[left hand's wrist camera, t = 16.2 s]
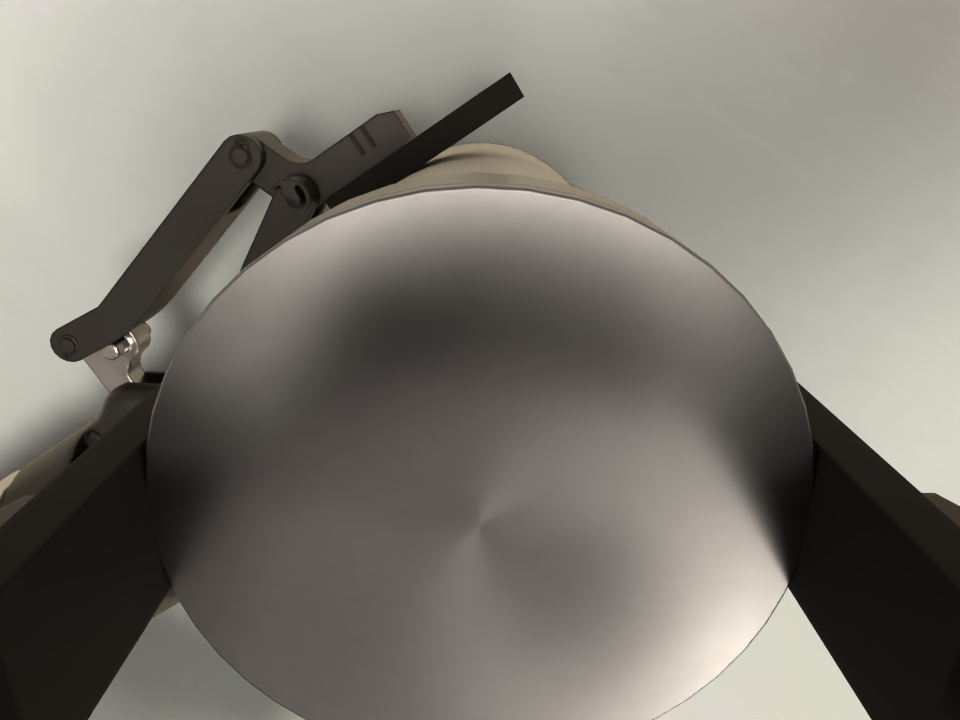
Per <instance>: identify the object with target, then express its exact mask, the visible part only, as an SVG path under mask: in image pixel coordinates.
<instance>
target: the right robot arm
mask: <svg viewBox="0 0 960 720" xmlns="http://www.w3.org/2000/svg"><path fill="white" fill-rule="evenodd" d="M523 97H524V96H523V94H522V92H521V90H520V89H519V87H518V85H517V83H516V82H515V80H514V78H513V77H512V75H511V73H508V74H507V75H505V76H504V77H503V78H501V79H500V80H498V81H497V82H495V83H494V84H492V85H491V86H490V87H488V88H487V89H485V90H484V91H482V92H481V93H479V94H478V95H476V96H475V97H474V98H472V99H471V100H469V101H468V102H466V103H465V104H463V105H462V106H461V107H459V108H458V109H456V110H455V111H453V112H452V113H450V114H449V115H448V116H446V117H445V118H443V119H442V120H440V121H439V122H437V123H436V124H434V125H433V126H432V127H430V128H429V129H427V130H426V131H424V132H423V133H421V134H420V135H419V136H416V135H415V133H414V132H413V130H412V129H411V127H410V126H409V124H408V122H407V121H406V119H405V118H404V116H403V115H402V113H401V111H400V110H396V111H391V112H386V113H381V114H376V115H375V116H374V117H372V118H371V119H369V120H368V121H367V122H365V123H364V124H362V125H361V126H360V127H358V128H357V129H355V130H354V131H352V132H351V133H350V134H348V135H347V136H345V137H344V138H342V139H341V140H340V141H338V142H337V143H335V144H334V145H333V146H331V147H330V148H328V149H327V150H326V151H324V152H323V153H321V154H320V155H318V156H317V157H316V158H314V159H305V158H302V157H300V156H298V155H296V154H295V153H293V152H292V151H290V150H289V149H288V148H286V147H285V146H284V145H282V143H281V141H280V140H279V139H278V138H277V136H275V135H274V134H272V133H271V132H267V131H257V132H250V133H243V134H237V135H233V136H230V137H228V138H227V139H226V140H225V141H224V142H223V143H222V145H221V146H220V147H219V148H218V150H217V151H216V152H215V154H214V155H213V156H212V158H211V159H210V160H209V162H208V163H207V164H206V166H205V167H204V168H203V170H202V171H201V172H200V173H199V175H198V176H197V177H196V179H195V180H194V181H193V183H192V184H191V185H190V187H189V188H188V189H187V191H186V192H185V193H184V194H183V196H182V197H181V198H180V200H179V201H178V202H177V204H176V205H175V206H174V208H173V209H172V210H171V212H170V213H169V214H168V216H167V217H166V218H165V219H164V221H163V222H162V223H161V225H160V226H159V227H158V229H157V230H156V231H155V233H154V234H153V235H152V237H151V238H150V239H149V241H148V242H147V243H146V244H145V246H144V247H143V248H142V250H141V251H140V252H139V254H138V255H137V256H136V258H135V259H134V260H133V262H132V263H131V264H130V266H129V267H128V268H127V269H126V271H125V272H124V273H123V275H122V276H121V277H120V279H119V280H118V281H117V283H116V284H115V285H114V287H113V288H112V289H111V291H110V292H109V293H108V294H107V296H106V297H105V298H104V300H103V301H102V302H101V304H100V305H99V306H98V307H97V308H95V309H93V310H91V311H89V312H87V313H86V314H84V315H82V316H80V317H78V318H76V319H75V320H73V321H71V322H69V323H67V324H65V325H64V326H62V327H60V328H58V329H57V330H55V331H54V332H53V333H52V335H51V338H50V343H51V347H52V349H53V351H54V353H55V354H56V355H57V356H59V357H60V358H61V359H63V360H66V361H70V362H76V361H80V360H82V359H84V360H85V362H86V363H87V364H88V366H89V367H90V368H91V370H92V371H93V372H94V373H95V375H96V376H97V377H98V379H99V380H100V381H101V383H102V384H103V385H104V386H105V388H106V389H107V390H108V392H109V393H110V394H109V395H108V396H107V398H106V400H105V403H104V406H103V409H102V411H101V413H100V414H99V416H97V417H96V418H94V419H93V420H91V421H90V422H88V423H87V424H85V425H84V426H82V427H81V428H79V429H78V430H76V431H75V432H73V433H72V434H70V435H69V436H67V437H66V438H64V439H63V440H61V441H60V442H58V443H57V444H55V445H54V446H52V447H51V448H49V449H48V450H46V451H45V452H43V453H42V454H40V455H39V456H37V457H36V458H34V459H33V460H31V461H30V462H28V463H27V464H26V465H25V466H24V467H23V468H22V469H21V470H18V471H15V472H13V473H12V474H10V475H9V476H7V477H6V478H4V479H3V480H1V481H0V509H1V508H2V507H4V506H6V505H8V504H10V503H12V502H14V501H16V500H17V499H19V498H21V497H23V496H25V495H36V494H37V493H38V492H40V491H41V490H42V489H43V488H44V487H45V486H46V485H47V484H49V483H50V482H51V481H52V480H53V479H54V478H55V477H56V476H58V475H59V474H60V473H61V472H62V471H63V470H64V469H65V468H66V467H68V466H69V465H70V464H71V463H72V462H73V461H74V460H75V459H77V458H78V457H79V456H80V455H81V454H82V453H83V452H84V451H85V450H87V449H88V448H89V447H90V446H91V445H92V444H93V443H94V442H96V441H97V440H98V439H99V438H100V437H101V436H102V435H103V434H104V433H106V432H107V431H108V430H109V429H110V428H111V427H112V426H113V425H115V424H116V423H117V422H118V421H119V420H120V419H121V418H122V417H123V416H125V415H126V414H127V413H128V412H129V411H130V410H131V409H132V408H134V407H135V406H136V405H137V404H138V403H139V402H140V401H141V400H143V399H144V398H145V397H146V396H147V395H148V394H149V393H150V392H151V391H153V390H154V389H155V388H156V387H157V386H158V385H159V384H160V383H162V381H163V378H164V376H165V373H166V372H160V371H144V370H143V368H142V366H141V363H140V357H141V354H142V352H143V351H144V350H145V349H146V348H147V347H148V346H149V344H150V341H151V336H150V333H151V328H150V326H149V325H148V324H147V323H145V322H146V321H147V320H149V319H150V318H152V317H153V316H154V315H156V314H157V313H158V312H159V311H160V310H162V309H163V308H164V307H165V306H166V305H167V304H168V302H169V301H170V300H171V299H172V298H173V297H174V295H175V294H176V293H177V292H178V290H179V289H180V288H181V287H182V285H183V284H184V283H185V282H186V280H187V279H188V278H189V277H190V275H191V274H192V273H193V272H194V270H195V269H196V268H197V267H198V265H199V264H200V263H201V261H202V260H203V259H204V258H205V256H206V255H207V254H208V253H209V251H210V250H211V249H212V248H213V246H214V245H215V244H216V243H217V241H218V240H219V239H220V238H221V236H222V235H223V234H224V233H225V231H226V230H227V229H228V228H229V226H230V225H231V224H232V223H233V221H234V220H235V219H236V218H237V216H238V215H239V214H240V213H241V211H242V210H243V209H244V208H245V206H246V205H247V204H248V203H249V201H250V200H251V199H252V198H253V196H254V195H255V194H256V193H257V191H258V190H259V189H260V188H261V189H262V190H263V191H265V192H266V193H268V194H269V195H270V196H272V197H273V198H272V200H271V202H270V205H269V207H268V209H267V211H266V214H265V216H264V218H263V220H262V223H261V225H260V227H259V229H258V232H257V234H256V236H255V238H254V241H253V243H252V245H251V247H250V250H249V252H248V254H247V257H246V259H245V261H244V263H243V266H242V268H241V270H240V272H241V271H242V270H243V269H244V268H245V267H246V266H248V265H249V264H250V263H252V262H253V261H254V260H256V259H257V258H259V257H260V256H261V255H263V254H264V253H265V252H267V251H268V250H270V249H271V248H272V247H274V246H275V245H276V244H278V243H279V242H281V241H282V240H283V239H285V238H286V237H287V236H289V235H290V234H292V233H293V232H294V231H296V230H297V229H299V228H300V227H301V226H303V225H304V224H306V223H307V222H308V221H310V220H311V219H313V218H315V217H317V216H319V215H321V214H323V211H324V209H325V207H326V205H328V206H329V208H330V209H332V208H334V207H336V206H338V205H340V204H342V203H343V202H345V201H347V200H349V199H352V198H355V197H358V196H361V195H363V194H366V193H369V192H372V191H374V190H377V189H380V188H383V187H385V186H388V185H392V184H396V183H397V182H399V181H400V180H402V179H403V178H405V177H406V176H408V175H409V174H411V173H412V172H414V171H415V170H417V169H418V168H420V167H421V166H423V165H424V164H426V163H427V162H428V161H430V160H431V159H433V158H434V157H436V156H437V155H439V154H440V153H442V152H443V151H445V150H446V149H448V148H449V147H451V146H452V145H454V144H455V143H456V142H458V141H459V140H461V139H462V138H464V137H465V136H467V135H468V134H470V133H471V132H473V131H474V130H476V129H477V128H479V127H480V126H482V125H483V124H484V123H486V122H487V121H489V120H490V119H492V118H493V117H495V116H496V115H498V114H499V113H501V112H502V111H504V110H505V109H507V108H508V107H510V106H511V105H512V104H514V103H515V102H517V101H518V100H520V99H521V98H523ZM240 272H239V273H240ZM179 602H180V601H179V599H178V598H177V596H176V594H175V592H174V590H173V588H172V587H171V588H170V590H169V591H168V593H167V595H166V596H165V598H164V599H163V601H162V603H161V604H160V606H159V607H158V609H157V610H156V612H155V614H154V615H153V617H155V616H156V615H158V614H160V613H162V612H163V611H165V610H167V609H169V608H170V607H172V606H174V605H176V604H177V603H179ZM153 617H152V618H153Z"/></svg>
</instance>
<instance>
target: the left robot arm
mask: <svg viewBox="0 0 960 720" xmlns="http://www.w3.org/2000/svg"><path fill="white" fill-rule="evenodd" d="M161 384H162V383H160V384H159V385H158V386H157V387H156V388H155V389H154V390H153V391H151V392H150V393H149V394H148V395H147V396H146V397H145V398H144V399H143V400H141V401H140V402H139V403H138V404H137V405H136V406H135V407H134V408H132V409H131V410H130V411H129V412H128V413H127V414H126V415H125V416H123V417H122V418H121V419H120V420H119V421H118V422H117V423H116V424H115V425H113V426H112V427H111V428H110V429H109V430H108V431H107V432H106V433H104V434H103V435H102V436H101V437H100V438H99V439H98V440H97V441H96V442H94V443H93V444H92V445H91V446H90V447H89V448H88V449H87V450H85V451H84V452H83V453H82V454H81V455H80V456H79V457H78V458H77V459H75V460H74V461H73V462H72V463H71V464H70V465H69V466H68V467H66V468H65V469H64V470H63V471H62V472H61V473H60V474H59V475H58V476H56V477H55V478H54V479H53V480H52V481H51V482H50V483H49V484H47V485H46V486H45V487H44V488H43V489H42V490H41V491H40V492H38V493H37V494H36V495H25V496H23V497H21V498H19V499H17V500H16V501H14V502H12V503H10V504H8V505H6V506H4V507H2V508H1V509H0V720H88V718H89V717H90V715H91V714H92V712H93V710H94V709H95V707H96V706H97V704H98V702H99V701H100V699H101V698H102V696H103V695H104V693H105V691H106V690H107V688H108V687H109V685H110V683H111V682H112V680H113V679H114V677H115V676H116V674H117V672H118V671H119V669H120V668H121V666H122V664H123V663H124V661H125V660H126V658H127V656H128V655H129V653H130V652H131V650H132V649H133V647H134V645H135V644H136V642H137V641H138V639H139V637H140V636H141V634H142V633H143V631H144V629H145V628H146V626H147V625H148V623H149V622H150V620H151V618H152V617H153V615H154V614H155V612H156V610H157V609H158V607H159V606H160V604H161V603H162V601H163V599H164V598H165V596H166V595H167V593H168V591H169V590H170V588H171V587H172V586H171V584H170V581H169V579H168V577H167V575H166V573H165V570H164V568H163V566H162V564H161V560H160V556H159V551H158V547H157V542H156V537H155V532H154V528H153V523H152V518H151V513H150V508H149V503H148V498H147V493H146V487H145V455H146V445H147V439H148V433H149V428H150V422H151V416H152V411H153V408H154V405H155V402H156V399H157V396H158V393H159V390H160V387H161ZM797 384H798V386H799V389H800V392H801V395H802V398H803V400H804V403H805V406H806V410H807V415H808V421H809V426H810V431H811V436H812V441H813V450H814V481H815V484H814V490H813V495H812V501H811V506H810V511H809V516H808V520H807V525H806V530H805V535H804V540H803V545H802V549H801V554H800V558H799V562H798V564H797V567H796V569H795V571H794V574H793V576H792V578H791V580H790V583H789V585H788V588H789V589H790V591H791V592H792V594H793V596H794V597H795V599H796V600H797V602H798V604H799V605H800V607H801V608H802V610H803V611H804V613H805V615H806V616H807V618H808V619H809V621H810V623H811V624H812V626H813V627H814V629H815V631H816V632H817V634H818V635H819V637H820V638H821V640H822V642H823V643H824V645H825V646H826V648H827V650H828V651H829V653H830V654H831V656H832V658H833V659H834V661H835V662H836V664H837V665H838V667H839V669H840V670H841V672H842V673H843V675H844V677H845V678H846V680H847V681H848V683H849V685H850V686H851V688H852V689H853V691H854V692H855V694H856V696H857V697H858V699H859V700H860V702H861V704H862V705H863V707H864V708H865V710H866V711H867V713H868V715H869V716H870V718H871V719H872V720H960V506H958V505H956V504H954V503H953V502H951V501H949V500H947V499H945V498H943V497H941V496H939V495H938V494H936V493H921V492H920V491H919V490H917V489H916V488H915V487H914V486H913V485H912V484H911V483H910V482H908V481H907V480H906V479H905V478H904V477H903V476H902V475H901V474H900V473H898V472H897V471H896V470H895V469H894V468H893V467H892V466H891V465H889V464H888V463H887V462H886V461H885V460H884V459H883V458H882V457H881V456H879V455H878V454H877V453H876V452H875V451H874V450H873V449H872V448H870V447H869V446H868V445H867V444H866V443H865V442H864V441H863V440H862V439H860V438H859V437H858V436H857V435H856V434H855V433H854V432H853V431H851V430H850V429H849V428H848V427H847V426H846V425H845V424H844V423H843V422H841V421H840V420H839V419H838V418H837V417H836V416H835V415H834V414H832V413H831V412H830V411H829V410H828V409H827V408H826V407H825V406H824V405H822V404H821V403H820V402H819V401H818V400H817V399H816V398H815V397H813V396H812V395H811V394H810V393H809V392H808V391H807V390H806V389H804V388H803V387H802V386H801V385H800V384H799V383H798V382H797Z"/></svg>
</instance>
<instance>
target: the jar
mask: <svg viewBox="0 0 960 720" xmlns="http://www.w3.org/2000/svg"><path fill="white" fill-rule="evenodd" d="M476 172H478V173H495V174H511V175H524V176H529V177H534V178H539V179H544V180H549V181H554V182H559V183H564V184H568V183H567V182H566V181H565V180H564V179H563V178H562V177H561V176H560V175H559V174H558V173H557V172H555V171H554V170H553V169H552V168H551V167H549V166H548V165H547V164H546V163H544V162H542V161H541V160H539V159H538V158H536V157H534V156H532V155H530V154H528V153H526V152H523V151H521V150H518V149H515V148H512V147H508V146H505V145H498V144H491V143H470V144H463V145H457V146H453V147H449V148H448V149H446V150H445V151H443V152H442V153H440V154H439V155H437V156H436V157H434V158H433V159H431V160H430V161H428V162H427V163H426V164H424V165H423V166H421V167H420V168H418V169H417V170H415V171H414V172H412V173H411V174H409V175H408V176H406V177H405V178H403V179H402V180H400V181H399V182H397V183H401V182H406V181H411V180H415V179H420V178H425V177H429V176H437V175H450V174H463V173H476ZM397 183H396V184H397ZM568 185H569V184H568Z"/></svg>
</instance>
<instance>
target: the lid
mask: <svg viewBox="0 0 960 720" xmlns="http://www.w3.org/2000/svg"><path fill="white" fill-rule="evenodd" d="M814 484H815V481H814V450H813V441H812V436H811V431H810V426H809V421H808V415H807V410H806V406H805V403H804V400H803V398H802V395H801V392H800V389H799V386H798V384H797V381H796V378H795V375H794V373H793V370H792V368H791V366H790V364H789V362H788V360H787V359H786V357H785V355H784V353H783V351H782V350H781V348H780V346H779V344H778V342H777V340H776V339H775V337H774V335H773V333H772V331H771V330H770V329H769V328H768V326H767V325H766V324H765V322H764V321H763V320H762V318H761V317H760V316H759V315H758V313H757V312H756V311H755V309H754V308H753V307H752V306H751V304H750V303H749V302H748V300H747V299H746V298H745V297H744V296H743V295H742V294H741V293H740V292H739V291H738V290H737V289H736V288H735V287H734V286H733V285H732V284H731V283H730V282H729V281H728V280H727V279H726V278H725V277H723V276H722V275H721V274H720V273H719V272H718V271H717V270H716V269H715V268H714V267H713V266H712V265H711V264H709V263H708V262H707V261H705V260H704V259H702V258H701V257H700V256H698V255H697V254H696V253H694V252H693V251H691V250H690V249H689V248H687V247H686V246H684V245H683V244H682V243H680V242H679V241H678V240H676V239H675V238H673V237H672V236H670V235H669V234H668V233H666V232H665V231H663V230H662V229H660V228H659V227H658V226H656V225H655V224H653V223H652V222H651V221H649V220H648V219H646V218H645V217H643V216H641V215H639V214H637V213H635V212H633V211H631V210H629V209H627V208H625V207H623V206H621V205H619V204H617V203H615V202H613V201H612V200H610V199H608V198H605V197H602V196H599V195H596V194H594V193H591V192H588V191H585V190H582V189H579V188H576V187H573V186H570V185H568V184H564V183H559V182H554V181H549V180H544V179H539V178H534V177H529V176H524V175H511V174H495V173H478V172H476V173H463V174H450V175H437V176H429V177H425V178H420V179H415V180H411V181H406V182H401V183H397V184H392V185H388V186H385V187H383V188H380V189H377V190H374V191H372V192H369V193H366V194H363V195H361V196H358V197H355V198H352V199H349V200H347V201H345V202H343V203H342V204H340V205H338V206H336V207H334V208H332V209H330V210H328V211H326V212H325V213H323V214H321V215H319V216H317V217H315V218H313V219H311V220H310V221H308V222H307V223H306V224H304V225H303V226H301V227H300V228H299V229H297V230H296V231H294V232H293V233H292V234H290V235H289V236H287V237H286V238H285V239H283V240H282V241H281V242H279V243H278V244H276V245H275V246H274V247H272V248H271V249H270V250H268V251H267V252H265V253H264V254H263V255H261V256H260V257H259V258H257V259H256V260H254V261H253V262H252V263H250V264H249V265H248V266H246V267H245V268H244V269H243V270H242V271H241V272H240V273H239V274H238V275H237V276H236V277H235V278H233V279H232V280H231V281H230V282H229V283H228V284H227V285H226V286H225V287H224V288H223V289H222V290H221V291H220V292H219V293H218V294H217V295H216V296H215V297H214V298H213V299H212V300H211V301H210V303H209V304H208V306H207V307H206V308H205V310H204V311H203V312H202V314H201V315H200V316H199V318H198V319H197V320H196V322H195V323H194V324H193V326H192V327H191V328H190V330H189V331H188V332H187V334H186V335H185V337H184V339H183V340H182V342H181V344H180V346H179V348H178V350H177V352H176V354H175V356H174V357H173V359H172V361H171V363H170V365H169V367H168V369H167V371H166V373H165V376H164V378H163V381H162V384H161V387H160V390H159V393H158V396H157V399H156V402H155V405H154V408H153V411H152V416H151V422H150V428H149V433H148V439H147V445H146V455H145V487H146V493H147V498H148V503H149V508H150V513H151V518H152V523H153V528H154V532H155V537H156V542H157V547H158V551H159V556H160V560H161V564H162V566H163V568H164V570H165V573H166V575H167V577H168V579H169V581H170V584H171V586H172V588H173V590H174V592H175V594H176V596H177V598H178V599H179V601H180V603H181V604H182V606H183V607H184V609H185V611H186V612H187V614H188V615H189V617H190V618H191V620H192V622H193V623H194V625H195V626H196V627H197V629H198V630H199V631H200V632H201V634H202V635H203V636H204V637H205V638H206V640H207V641H208V642H209V643H210V644H211V646H212V647H213V648H214V649H215V650H216V652H217V653H218V654H219V655H220V656H221V657H222V658H223V659H224V660H225V661H226V662H227V663H228V664H229V665H231V666H232V667H233V668H234V669H235V670H236V671H237V672H238V673H239V674H240V675H241V676H242V677H243V678H244V679H245V680H247V681H248V682H249V683H251V684H252V685H253V686H255V687H256V688H257V689H259V690H260V691H261V692H263V693H264V694H265V695H267V696H268V697H269V698H271V699H272V700H273V701H275V702H277V703H278V704H280V705H282V706H283V707H285V708H287V709H288V710H290V711H292V712H294V713H295V714H297V715H299V716H300V717H302V718H304V719H305V720H654V719H656V718H658V717H660V716H661V715H663V714H665V713H666V712H668V711H670V710H671V709H673V708H675V707H676V706H678V705H679V704H681V703H683V702H684V701H686V700H688V699H689V698H691V697H692V696H693V695H694V694H696V693H697V692H698V691H700V690H701V689H702V688H704V687H705V686H706V685H707V684H709V683H710V682H711V681H713V680H714V679H715V678H717V677H718V676H719V675H720V674H721V673H722V672H723V671H724V670H725V669H726V668H727V667H728V666H729V665H730V664H731V663H732V662H733V661H734V660H735V659H736V658H737V657H738V656H739V655H740V654H741V653H742V652H743V651H744V650H745V649H746V648H747V647H748V645H749V644H750V643H751V642H752V640H753V639H754V638H755V637H756V635H757V634H758V633H759V632H760V630H761V629H762V628H763V627H764V625H765V624H766V623H767V621H768V620H769V618H770V616H771V615H772V613H773V612H774V610H775V608H776V607H777V605H778V603H779V602H780V600H781V598H782V597H783V595H784V594H785V592H786V590H787V587H788V585H789V583H790V580H791V578H792V576H793V574H794V571H795V569H796V567H797V564H798V562H799V558H800V554H801V549H802V545H803V540H804V535H805V530H806V525H807V520H808V516H809V511H810V506H811V501H812V495H813V490H814Z"/></svg>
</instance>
